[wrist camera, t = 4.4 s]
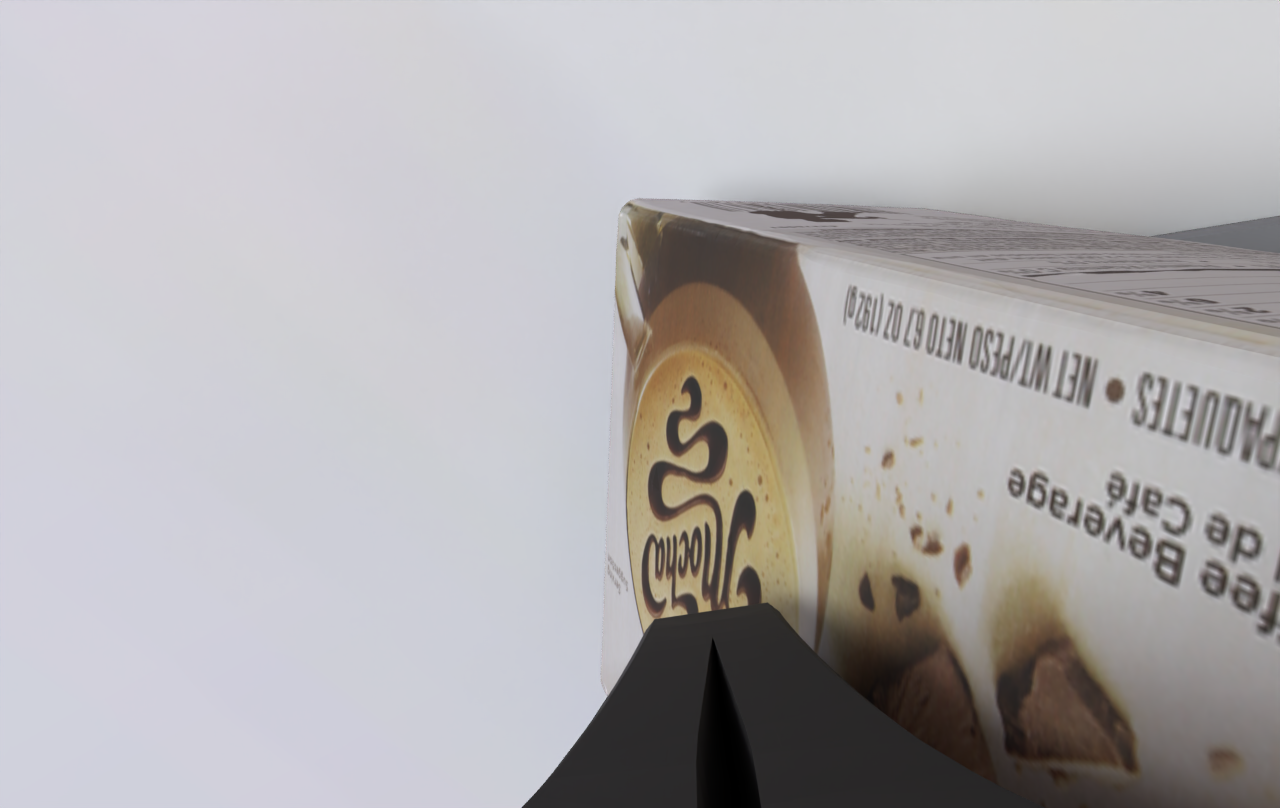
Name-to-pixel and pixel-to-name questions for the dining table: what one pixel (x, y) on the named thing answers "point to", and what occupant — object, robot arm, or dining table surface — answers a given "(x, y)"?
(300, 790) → the dining table surface
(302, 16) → the dining table surface
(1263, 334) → the coffee box
